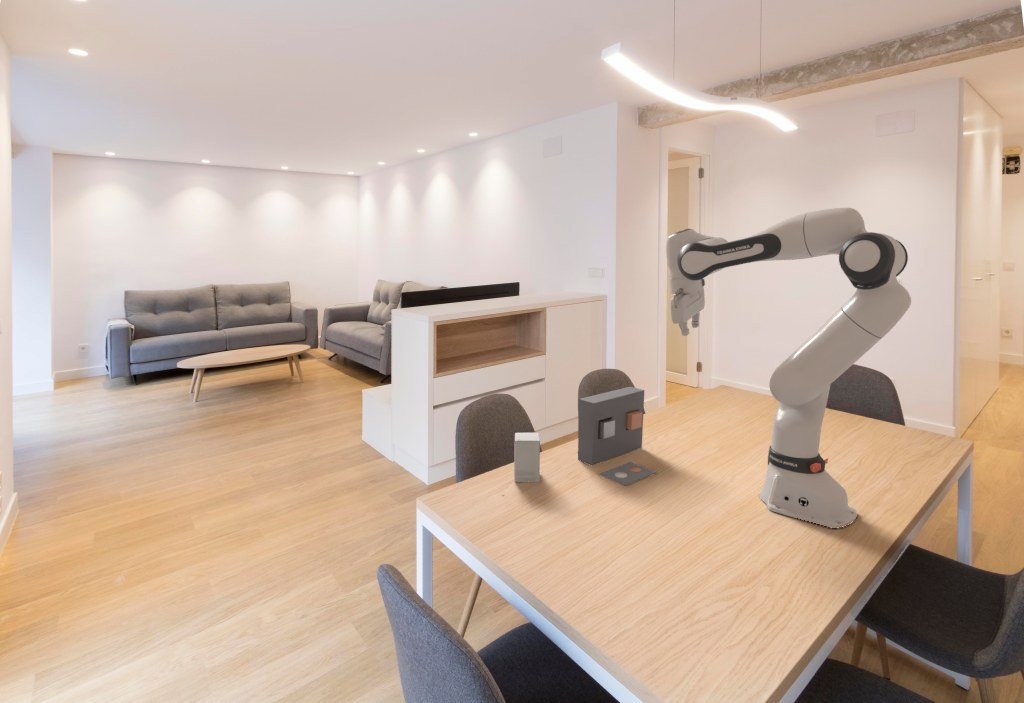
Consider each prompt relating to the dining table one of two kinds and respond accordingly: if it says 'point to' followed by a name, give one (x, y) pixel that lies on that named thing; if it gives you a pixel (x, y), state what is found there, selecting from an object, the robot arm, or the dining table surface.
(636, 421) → the button terracotta
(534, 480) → the supplement box
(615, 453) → the panel
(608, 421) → the grey button
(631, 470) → the pattern card
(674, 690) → the dining table surface
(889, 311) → the robot arm
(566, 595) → the dining table surface
